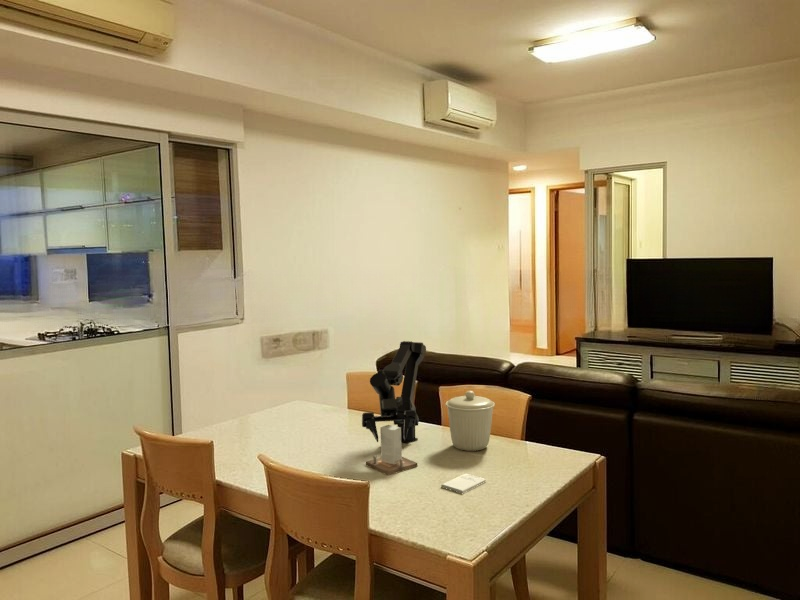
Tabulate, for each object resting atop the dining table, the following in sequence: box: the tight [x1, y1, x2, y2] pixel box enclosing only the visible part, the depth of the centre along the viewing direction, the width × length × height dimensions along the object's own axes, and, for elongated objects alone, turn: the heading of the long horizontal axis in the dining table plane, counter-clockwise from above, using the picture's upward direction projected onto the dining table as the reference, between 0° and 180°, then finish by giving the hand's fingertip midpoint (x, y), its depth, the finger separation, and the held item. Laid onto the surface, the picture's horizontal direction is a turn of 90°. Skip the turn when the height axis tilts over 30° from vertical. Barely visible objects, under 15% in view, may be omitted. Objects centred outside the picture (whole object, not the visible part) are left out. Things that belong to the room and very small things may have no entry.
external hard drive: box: [440, 473, 487, 494], centre depth 190 cm, size 2×8×12 cm
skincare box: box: [380, 424, 403, 465], centre depth 207 cm, size 6×4×12 cm
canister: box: [445, 390, 496, 452], centre depth 225 cm, size 18×18×21 cm
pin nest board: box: [365, 455, 418, 476], centre depth 207 cm, size 13×13×4 cm
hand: (391, 440), depth 205 cm, fingers open, 9 cm apart
